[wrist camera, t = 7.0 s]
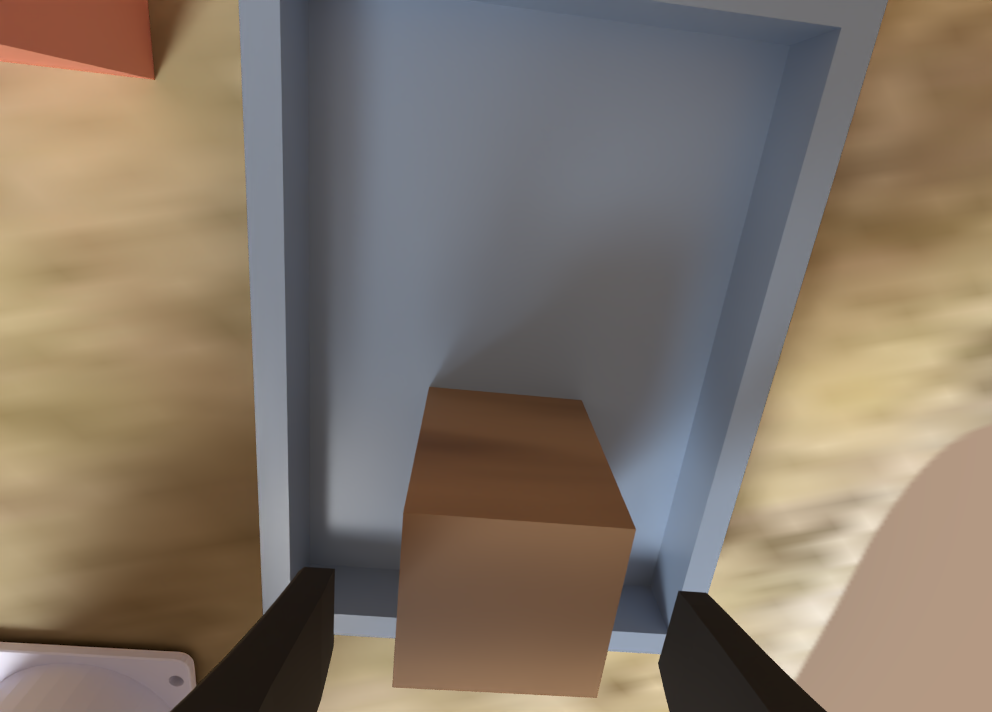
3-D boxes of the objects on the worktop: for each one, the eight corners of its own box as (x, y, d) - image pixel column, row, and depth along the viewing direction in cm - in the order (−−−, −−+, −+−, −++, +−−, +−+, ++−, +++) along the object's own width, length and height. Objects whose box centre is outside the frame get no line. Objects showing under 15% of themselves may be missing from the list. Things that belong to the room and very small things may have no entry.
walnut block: (559, 526, 18) (596, 697, 12) (419, 516, 18) (392, 687, 12) (581, 400, 16) (636, 529, 11) (429, 386, 16) (403, 512, 10)
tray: (660, 589, 20) (689, 655, 17) (293, 564, 19) (263, 630, 16) (813, 19, 14) (891, -13, 11) (283, -56, 13) (234, -109, 10)
